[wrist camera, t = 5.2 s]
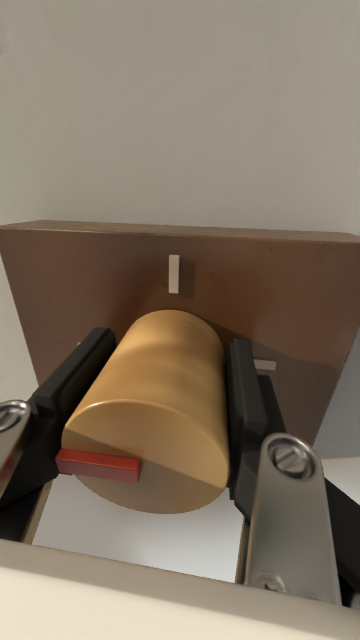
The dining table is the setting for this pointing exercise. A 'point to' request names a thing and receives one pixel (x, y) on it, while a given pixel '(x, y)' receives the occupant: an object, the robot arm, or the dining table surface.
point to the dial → (155, 419)
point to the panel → (195, 295)
